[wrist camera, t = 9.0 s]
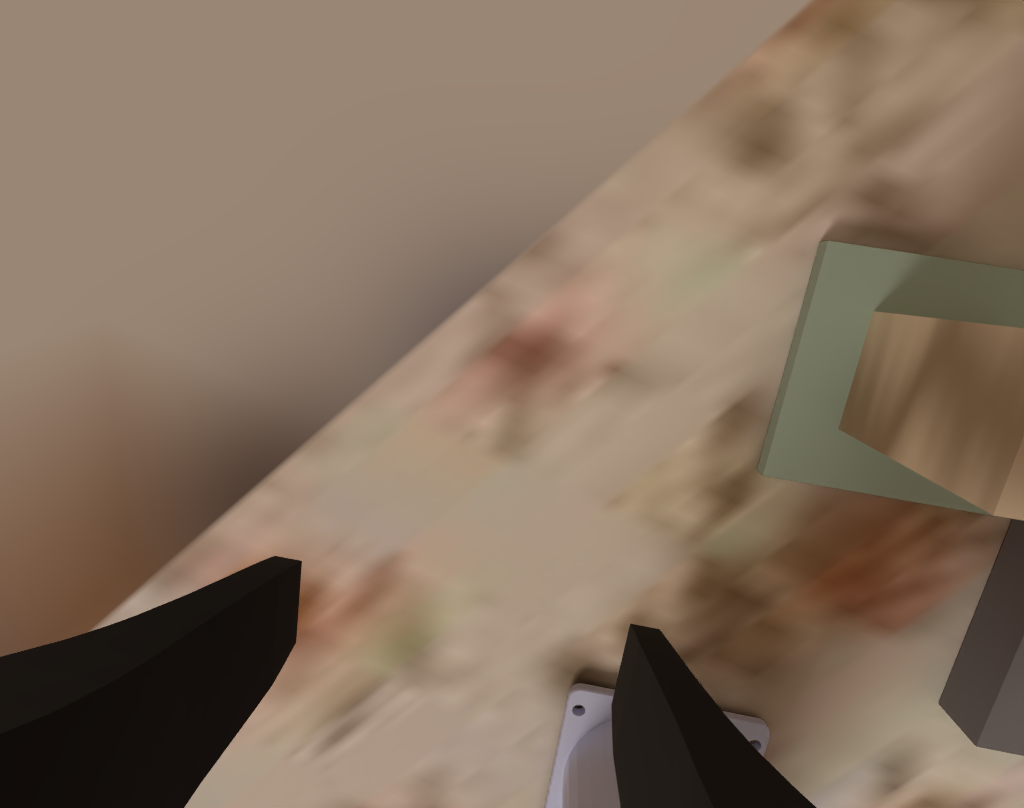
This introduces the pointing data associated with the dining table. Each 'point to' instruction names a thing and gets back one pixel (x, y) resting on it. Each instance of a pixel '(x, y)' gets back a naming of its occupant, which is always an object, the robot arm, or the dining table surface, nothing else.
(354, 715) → the dining table surface
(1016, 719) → the pocket plate
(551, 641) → the dining table surface
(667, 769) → the robot arm
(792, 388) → the green mat
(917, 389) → the beech block
